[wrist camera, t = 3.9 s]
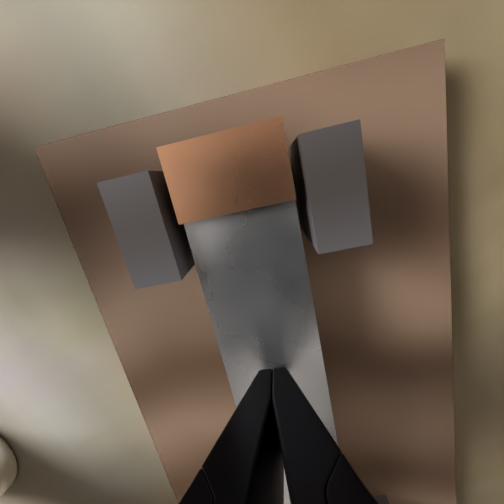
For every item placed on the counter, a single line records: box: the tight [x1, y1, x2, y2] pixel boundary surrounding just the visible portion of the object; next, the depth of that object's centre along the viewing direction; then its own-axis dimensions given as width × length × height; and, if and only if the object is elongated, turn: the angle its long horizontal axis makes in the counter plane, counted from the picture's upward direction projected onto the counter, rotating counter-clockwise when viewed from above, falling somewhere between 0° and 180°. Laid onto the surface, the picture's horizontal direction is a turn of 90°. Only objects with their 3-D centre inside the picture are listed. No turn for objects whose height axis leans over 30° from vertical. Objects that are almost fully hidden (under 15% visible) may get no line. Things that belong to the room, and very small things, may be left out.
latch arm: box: [156, 116, 338, 504], centre depth 10 cm, size 19×4×2 cm, turn 12°
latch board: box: [34, 38, 456, 504], centre depth 11 cm, size 22×14×4 cm, turn 12°
